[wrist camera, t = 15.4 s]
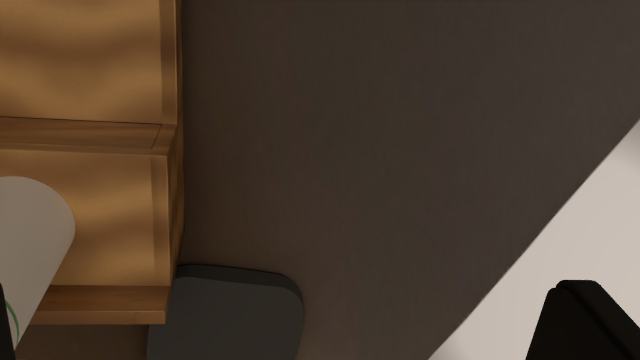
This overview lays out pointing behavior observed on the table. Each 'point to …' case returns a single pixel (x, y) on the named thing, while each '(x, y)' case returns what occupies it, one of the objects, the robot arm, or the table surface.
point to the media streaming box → (228, 316)
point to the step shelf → (100, 146)
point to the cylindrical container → (30, 245)
